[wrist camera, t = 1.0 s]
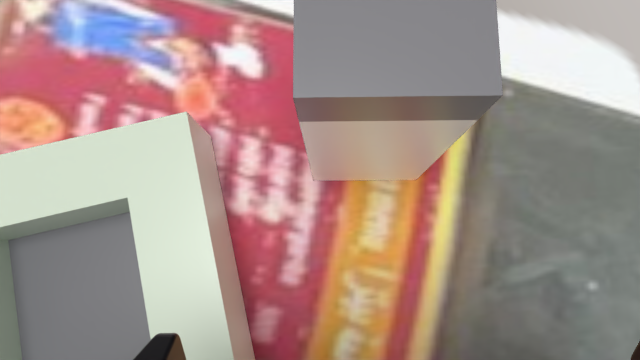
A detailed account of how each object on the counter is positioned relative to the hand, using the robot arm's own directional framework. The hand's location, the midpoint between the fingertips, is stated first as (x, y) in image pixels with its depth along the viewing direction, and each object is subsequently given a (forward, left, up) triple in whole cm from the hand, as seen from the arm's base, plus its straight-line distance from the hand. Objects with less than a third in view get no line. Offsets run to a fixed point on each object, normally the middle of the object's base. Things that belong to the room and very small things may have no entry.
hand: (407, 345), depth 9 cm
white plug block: (+8, -2, -13) cm, 15 cm away
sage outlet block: (+3, +12, -13) cm, 18 cm away
